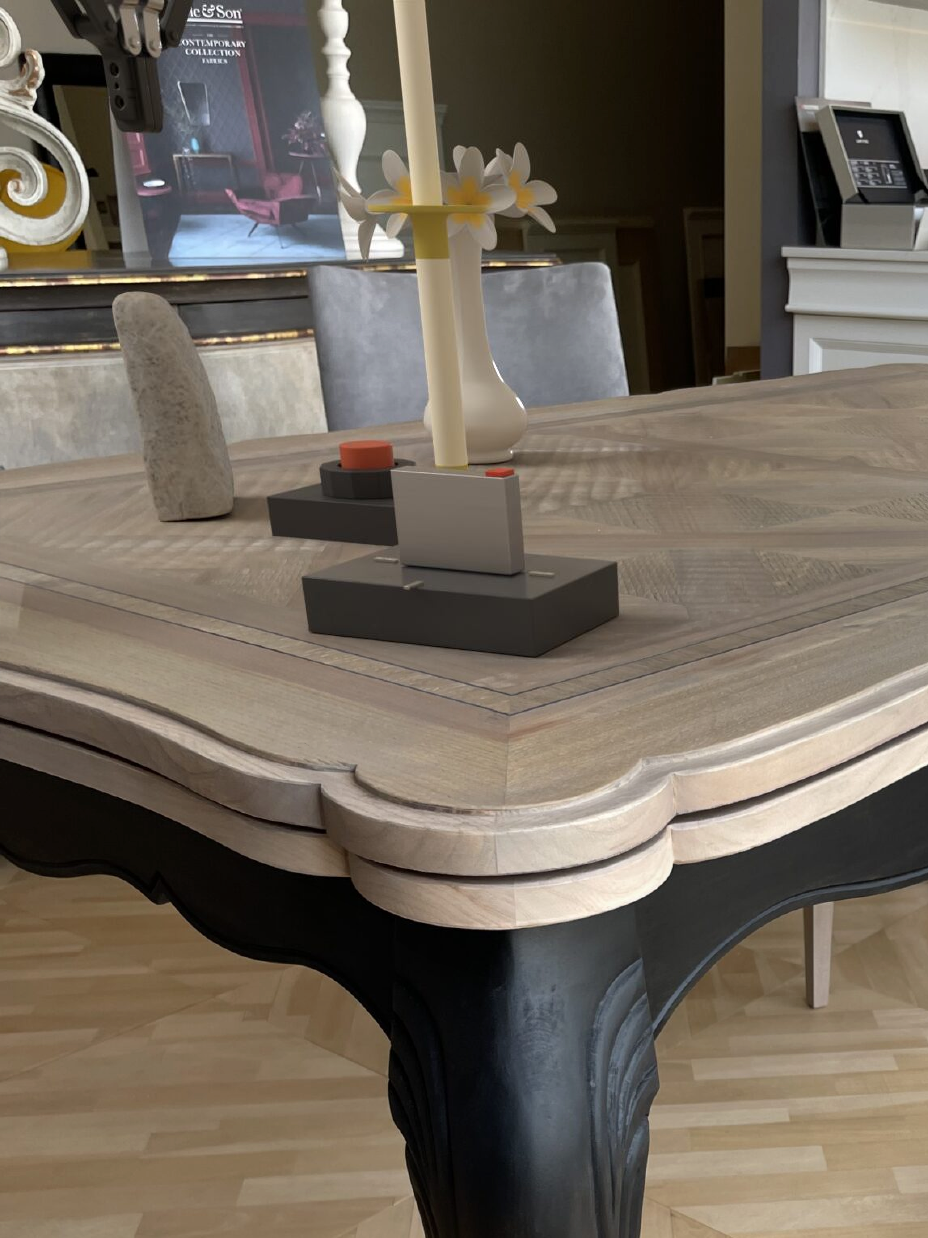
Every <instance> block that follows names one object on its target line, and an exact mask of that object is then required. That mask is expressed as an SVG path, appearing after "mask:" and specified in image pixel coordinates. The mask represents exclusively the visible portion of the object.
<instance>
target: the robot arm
mask: <svg viewBox="0 0 928 1238" xmlns="http://www.w3.org/2000/svg"><path fill="white" fill-rule="evenodd" d="M194 1H195V0H77V1H76V0H50V2H51V4H52V5H53V8H54V9H55V11H56V12H57V14H58V15H59V17H60V19H61V20H62V22H63V24H64V25H65V27H66V28H67V30H68V32H69V33H70V35H71V36H72V37H73V39H76V40H85V41H87V42H88V43H89V44H92V46H93V48H94V50H95V53H97V54H98V55H100V56H101V58H102V62H103V68H104V75H105V81H106V82H105V83H106V87H107V88H106V89H108V90H107V94H108V97H109V98H108V101H109V106H110V111H111V113H112V116H113V118H114V120H115V125H116V127H117V129H118V130H119V131H120V132H124V133H133V134H161V132H163V129H164V114H165V113H164V107H163V106H164V105H163V101H162V100H163V98H162V91H161V84H160V77H159V70H158V58H159V57H160V56H161V54H162V52H164V51H166V50H168V49H173V48H178V47H179V46H180V44H181V41H182V38H183V34H184V32H185V29H186V26H187V22H188V20H189V16H190V13H191V10H192V8H193V4H194ZM79 5H80V6H82V8H83V10H84V11H85V12H83V11H82V10H81V7H80V6H79ZM136 15H137V16H136Z"/></svg>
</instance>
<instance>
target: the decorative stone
mask: <svg viewBox="0 0 928 1238" xmlns="http://www.w3.org/2000/svg"><path fill="white" fill-rule="evenodd" d="M111 305H112V315H113V323H114V326H115V329H116V333H117V337H118V343H119V347H120V351H121V356H122V360H123V365H124V369H125V374H126V378H127V382H128V385H129V388H130V392H131V397H132V404H133V407H134V411H135V412H134V413H135V416H136V421H137V427H138V435H139V439H140V446H141V447H140V448H141V454H142V463H143V467H144V472H145V473H144V474H145V477H146V478H145V479H146V482H147V486H148V491H149V495H150V499H151V503H152V507H153V509H154V514H155V517H156V519H157V520H159V521H160V522H163V523H164V522H174V521H175V522H176V521H184V520H192V519H194V520H196V519H197V520H199V519H206V518H213V517H218V516H221V515H226V514H230V513H231V512H232V509H233V507H234V494H235V482H234V480H235V479H234V473H233V466H232V463H231V460H230V459H231V458H230V455H229V449H228V445H227V442H226V437H225V434H224V430H223V426H222V425H223V424H222V420H221V416H220V413H219V410H218V405H217V399H216V395H215V392H214V389H213V387H212V385H211V383H210V380H209V377H208V374H207V371H206V368H205V365H204V363H203V362H202V359H201V356H200V354H199V351H198V349H197V347H196V345H195V342H194V341H193V340H194V339H193V338H192V336H191V334H190V332H189V328H188V327H187V326H186V324H185V322H184V321H183V320H182V319H181V317H180V316H179V314H178V313H177V312H176V310H175V309H174V308H173V307H172V306H171V304H170V303H169V301H167V299H165V298H164V297H163V296H161V295H159V294H157V293H153V292H148V291H147V292H146V291H126V292H123V293H121V294H118V295H117V296H116V297H115V298H114V300H113V302H112V304H111Z"/></svg>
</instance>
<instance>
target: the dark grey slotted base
mask: <svg viewBox="0 0 928 1238" xmlns="http://www.w3.org/2000/svg"><path fill="white" fill-rule="evenodd" d="M524 557H525V570H523V571H520V572H518V573H515V574H513V575H502V574H492V573H482V572H471V571H461V570H450V569H440V568H430V567H419V566H409V565H401V562H400V553H399V545H396V546H388V547H386V548H383V549H380V550H377V551H375V552H374V551H373V552H372V553H371V552H370V553H368V554H366V555H363V556H358V557H357V558H353V559H350V560H347V561H343V562H341V563H338V564H334V565H332V566H329V567H326V568H322V569H319V570H316V571H314V572H310V573H307V574H304V575H302V576H300V577H301V579H300V580H301V585H302V592H303V600H304V606H305V613H306V622H307V628H308V631H309V632H310V633H315V634H324V635H334V636H343V637H352V638H362V639H370V640H378V641H388V642H396V643H405V644H415V645H424V646H433V647H440V648H441V647H442V648H449V649H460V650H470V651H478V652H486V653H496V654H503V655H504V654H505V655H513V656H523V657H532V658H537V657H538V656H540V655H542V654H544V653H546V652H548V651H551V650H552V649H554V648H556V647H558V646H560V645H562V644H564V643H566V642H568V641H570V640H572V639H574V638H576V637H578V636H580V635H582V634H584V633H586V632H588V631H589V630H592V629H594V628H595V627H597V626H600V625H602V624H603V623H605V622H608V621H609V620H611V619H614V618H616V617H617V616H619V615H620V596H619V573H618V569H619V568H618V561H615V560H606V559H595V558H583V557H573V556H572V557H571V556H562V555H561V556H559V555H549V554H538V553H526V552H524Z"/></svg>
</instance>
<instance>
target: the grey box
mask: <svg viewBox="0 0 928 1238" xmlns="http://www.w3.org/2000/svg"><path fill="white" fill-rule="evenodd" d="M519 477H520V475H519V473H515V469H514V468H506V467H495V468H492V469H489V470H485V471H484V470H473V469H472V470H471V469H468V470H459V469H445V468H436V467H429V466H419V465H418V466H417V465H416V466H404V467H400V468H396V469H392V470H391V480H392V489H393V498H394V507H395V516H396V526H397V535H398V544H399V553H400V562H401V565H409V566H419V567H430V568H440V569H450V570H461V571H471V572H482V573H492V574H502V575H513V574H515V573H518V572H520V571H523V570H525V557H524V553H525V547H524V546H525V545H524V544H525V543H524V531H523V515H522V504H521V489H520V488H521V487H520V478H519Z"/></svg>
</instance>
